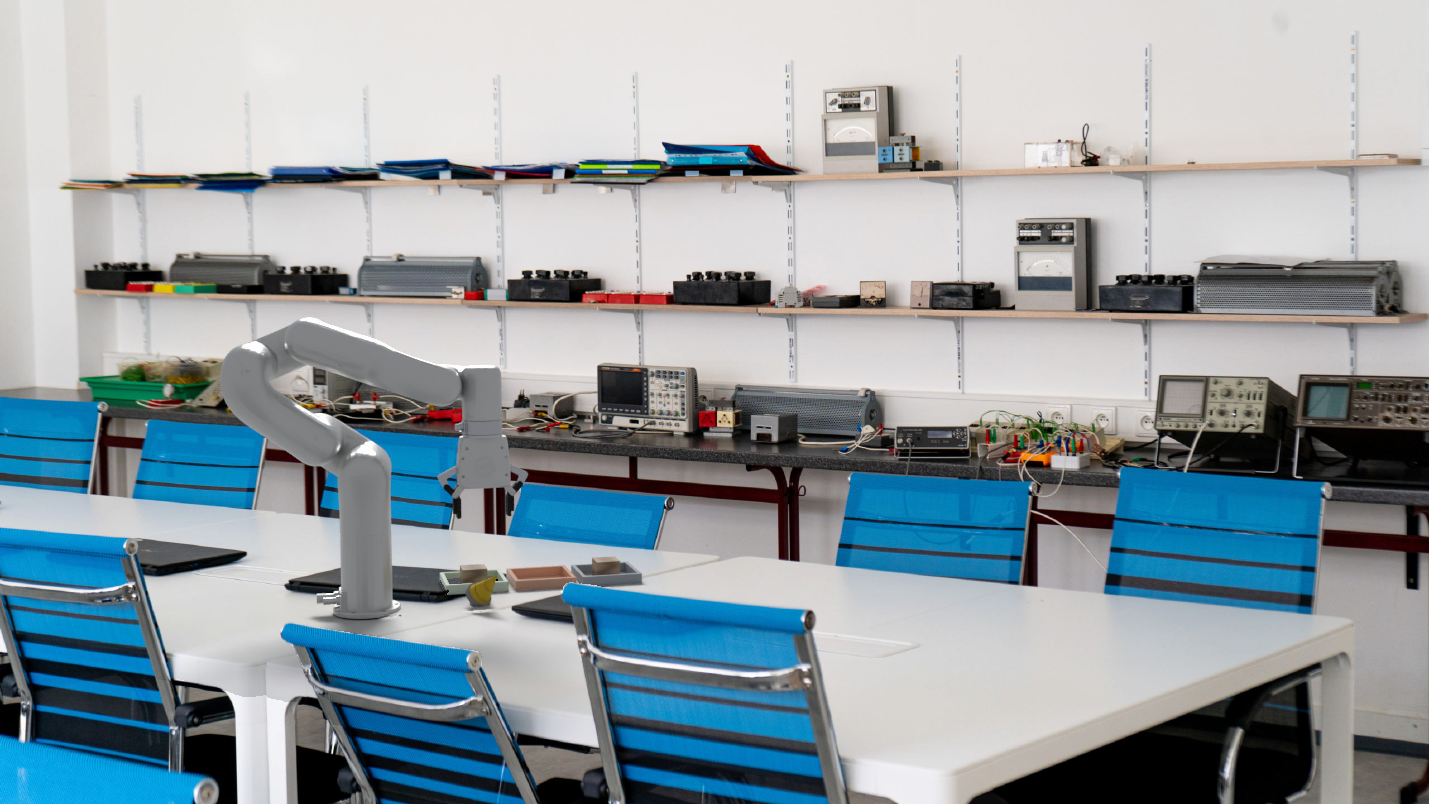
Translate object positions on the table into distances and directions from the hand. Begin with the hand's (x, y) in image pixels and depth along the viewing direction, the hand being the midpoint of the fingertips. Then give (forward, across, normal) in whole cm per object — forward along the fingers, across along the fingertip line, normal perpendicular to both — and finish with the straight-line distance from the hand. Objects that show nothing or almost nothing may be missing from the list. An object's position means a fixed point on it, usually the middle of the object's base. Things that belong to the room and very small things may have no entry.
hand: (483, 516), depth 257 cm
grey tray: (+18, +28, +16) cm, 37 cm away
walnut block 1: (+17, 0, +16) cm, 24 cm away
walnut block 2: (+17, +28, +16) cm, 36 cm away
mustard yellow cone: (+18, 0, 0) cm, 18 cm away
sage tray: (+18, 0, +16) cm, 24 cm away
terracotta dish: (+18, +14, +16) cm, 28 cm away
